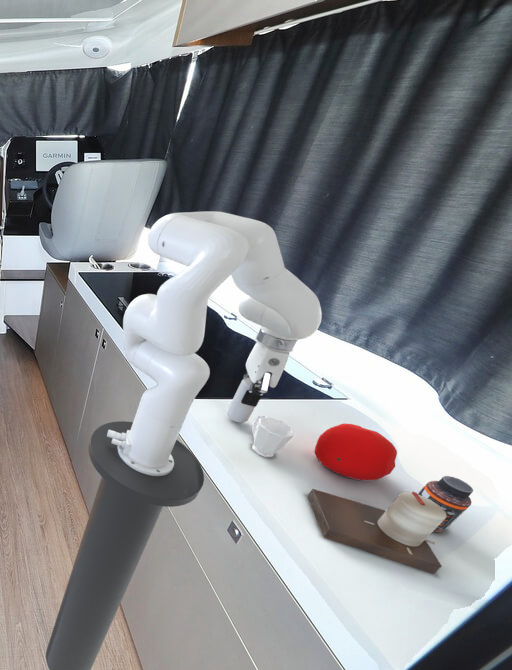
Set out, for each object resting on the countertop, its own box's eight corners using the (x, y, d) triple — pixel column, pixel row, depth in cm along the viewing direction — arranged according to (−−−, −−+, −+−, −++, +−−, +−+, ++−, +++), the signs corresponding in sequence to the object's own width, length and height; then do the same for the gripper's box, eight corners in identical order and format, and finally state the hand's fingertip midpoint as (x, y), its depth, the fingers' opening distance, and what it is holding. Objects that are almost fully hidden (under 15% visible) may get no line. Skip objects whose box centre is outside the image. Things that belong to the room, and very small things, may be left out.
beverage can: (248, 418, 113) (267, 382, 107) (244, 426, 110) (264, 390, 104) (227, 409, 116) (245, 374, 110) (223, 417, 113) (241, 381, 107)
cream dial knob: (428, 551, 78) (456, 523, 74) (386, 539, 80) (411, 511, 76) (410, 525, 83) (435, 497, 79) (371, 514, 85) (393, 486, 81)
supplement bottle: (403, 520, 87) (436, 483, 82) (402, 503, 91) (433, 466, 85) (446, 539, 83) (483, 501, 78) (443, 520, 87) (478, 483, 82)
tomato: (322, 488, 98) (365, 479, 100) (383, 480, 87) (430, 471, 89) (291, 434, 103) (333, 427, 106) (344, 420, 92) (389, 413, 95)
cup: (254, 459, 101) (267, 434, 98) (234, 430, 110) (246, 407, 106) (286, 463, 100) (301, 439, 96) (264, 434, 109) (277, 410, 105)
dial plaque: (323, 537, 83) (329, 529, 82) (307, 496, 92) (312, 488, 91) (442, 577, 77) (451, 568, 75) (412, 528, 85) (420, 520, 84)
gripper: (306, 360, 93) (270, 422, 102) (286, 328, 107) (256, 385, 115) (265, 351, 96) (234, 412, 105) (250, 321, 110) (224, 377, 118)
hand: (246, 397), depth 110 cm, fingers closed on beverage can, 4 cm apart
